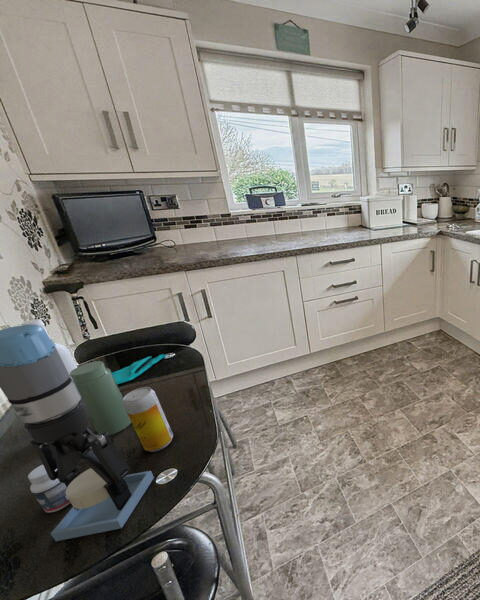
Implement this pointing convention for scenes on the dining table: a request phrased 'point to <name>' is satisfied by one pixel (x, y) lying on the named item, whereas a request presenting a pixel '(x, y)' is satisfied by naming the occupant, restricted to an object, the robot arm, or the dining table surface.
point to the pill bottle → (48, 490)
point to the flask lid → (87, 490)
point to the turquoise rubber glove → (135, 369)
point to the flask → (101, 397)
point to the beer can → (148, 419)
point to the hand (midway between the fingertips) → (106, 502)
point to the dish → (103, 512)
